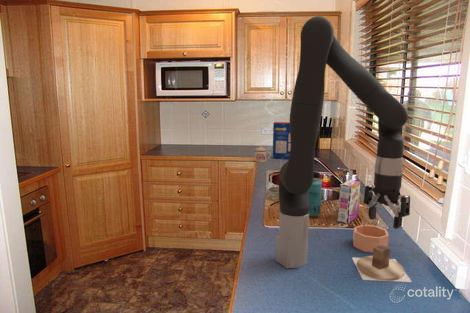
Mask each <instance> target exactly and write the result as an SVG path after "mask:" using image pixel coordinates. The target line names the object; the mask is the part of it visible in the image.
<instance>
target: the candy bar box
mask: <svg viewBox="0 0 470 313" xmlns="http://www.w3.org/2000/svg"><path fill="white" fill-rule="evenodd" d="M361 182H362V181H359V180H354V179H349V180H347V181H345V182H343V183H340V184H339V195H338V196H339V197H338V206H337V208H338V209H337V210H338V211H337V221H336V222H339V223H343V224H346V225H349V223H351V222H353V221H354V220H355V219H357V218H358V216H359V205H360V204H359V202H360V195H361V194H360V192H361V184H362V183H361Z"/></svg>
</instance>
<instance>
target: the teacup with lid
mask: <svg viewBox="0 0 470 313" xmlns="http://www.w3.org/2000/svg"><path fill="white" fill-rule="evenodd" d="M267 154H269V156H267ZM271 155H272V154H271V152H270V151H268V150H267V149H266V148H265V147H263V146H262V145H259V146H258V147H257V148H255V149H254V161H255V163H265V162H267V159H270V158H271Z"/></svg>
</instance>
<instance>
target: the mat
mask: <svg viewBox="0 0 470 313" xmlns="http://www.w3.org/2000/svg"><path fill="white" fill-rule="evenodd" d="M360 258H361V257H351V259H352V261H353V263H354V265H355V267H356V269H357V271H358V273H359V276H360V277H361V279H362V281H379V282H397V283H398V282H401V283H402V282H403V283H413V282H412V279H411V278H410V277H409V275H408V274H407V273H406V271H404V276H403V277H402V278H400V279H398V280H379V279H375V278H372V277H369V276H367V275H365V274H363V273H362V272H361V271H360V270H359V269H358V268H357V261H358V259H360ZM390 259H391V260H394V261H396V262H397V263H399V262H398V261H397V259H395V258H390Z"/></svg>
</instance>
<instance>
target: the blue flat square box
mask: <svg viewBox="0 0 470 313" xmlns="http://www.w3.org/2000/svg"><path fill="white" fill-rule="evenodd" d="M290 149H291V139H290V121H289V122H287V121H286V122H285V121H284V122H283V121H281V122H280V121H274V122H273V128H272V160H289V155H290Z"/></svg>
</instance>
